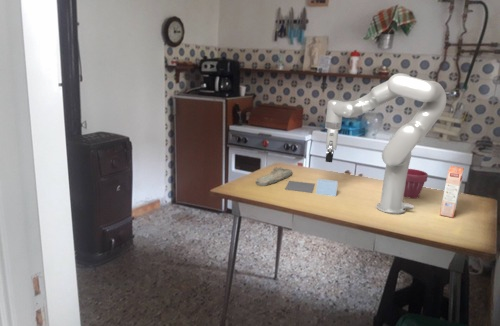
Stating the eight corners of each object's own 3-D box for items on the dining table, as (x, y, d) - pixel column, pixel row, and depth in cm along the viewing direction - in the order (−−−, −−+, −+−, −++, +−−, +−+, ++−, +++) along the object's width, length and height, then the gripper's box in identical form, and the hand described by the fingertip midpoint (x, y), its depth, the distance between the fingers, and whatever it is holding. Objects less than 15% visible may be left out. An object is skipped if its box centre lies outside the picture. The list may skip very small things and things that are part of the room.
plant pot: (400, 199, 194) (404, 174, 191) (390, 190, 208) (393, 167, 205) (428, 200, 195) (433, 176, 192) (416, 192, 208) (420, 169, 205)
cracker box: (454, 218, 171) (462, 173, 166) (439, 215, 174) (447, 170, 169) (456, 210, 183) (464, 167, 178) (442, 207, 186) (450, 165, 181)
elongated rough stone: (250, 186, 207) (266, 191, 202) (251, 177, 205) (267, 182, 200) (281, 171, 235) (296, 175, 230) (282, 163, 234) (297, 166, 229)
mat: (314, 184, 212) (314, 183, 212) (312, 192, 197) (312, 192, 197) (289, 181, 215) (289, 180, 215) (284, 189, 200) (285, 188, 200)
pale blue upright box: (336, 194, 197) (337, 181, 196) (335, 196, 193) (337, 183, 192) (316, 191, 199) (317, 178, 198) (315, 194, 196) (317, 180, 194)
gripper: (340, 128, 179) (336, 164, 183) (341, 124, 196) (337, 157, 200) (324, 127, 181) (320, 162, 185) (326, 122, 197) (322, 155, 201)
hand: (329, 159), depth 192 cm, fingers open, 9 cm apart
